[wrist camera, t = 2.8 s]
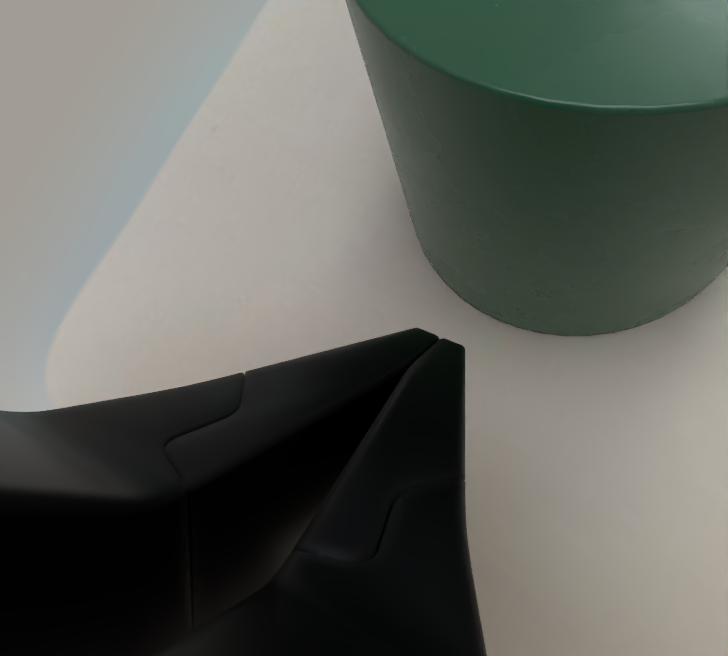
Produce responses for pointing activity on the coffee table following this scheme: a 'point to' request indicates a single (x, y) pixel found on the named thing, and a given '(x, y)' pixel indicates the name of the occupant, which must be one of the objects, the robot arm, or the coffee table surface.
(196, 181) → the coffee table surface
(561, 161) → the green cylinder
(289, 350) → the coffee table surface
